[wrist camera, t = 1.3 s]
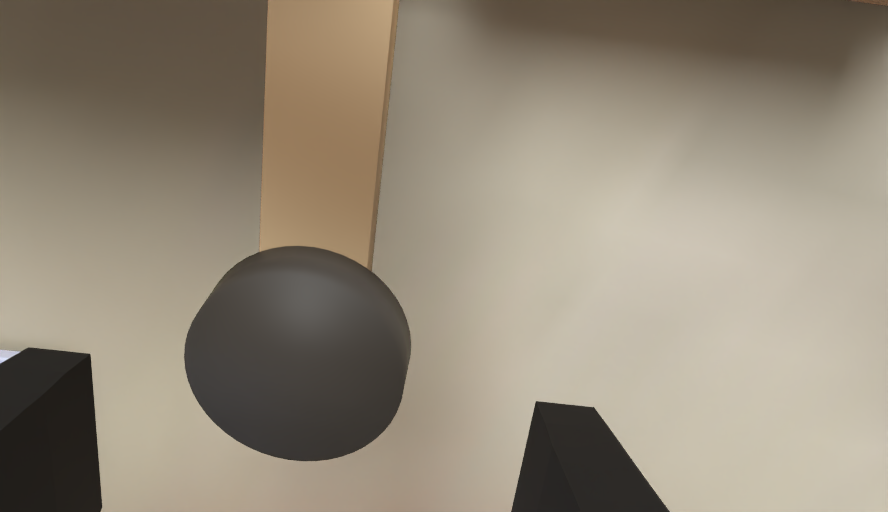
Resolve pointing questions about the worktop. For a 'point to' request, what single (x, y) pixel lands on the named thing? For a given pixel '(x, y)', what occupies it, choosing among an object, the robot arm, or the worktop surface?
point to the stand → (873, 1)
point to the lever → (311, 250)
